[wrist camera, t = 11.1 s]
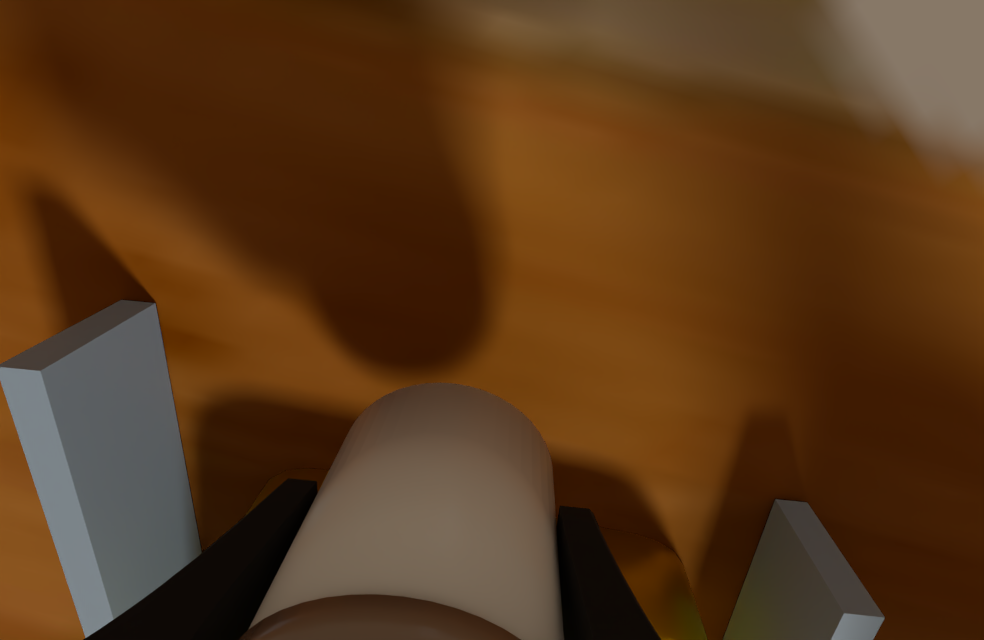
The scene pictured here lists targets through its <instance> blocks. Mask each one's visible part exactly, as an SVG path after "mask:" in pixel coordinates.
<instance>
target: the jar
mask: <svg viewBox="0 0 984 640" xmlns="http://www.w3.org/2000/svg"><path fill="white" fill-rule="evenodd" d="M238 640H564V632H563V617H562V602H561V587H560V572H559V557H558V542H557V527H556V512H555V497H554V482H553V467H552V461H551V457H550V453H549V451H548V448H547V445H546V443H545V441H544V439H543V438H542V436H541V434H540V432H539V431H538V430H537V428H536V427H535V426H534V425H533V423H532V422H531V421H530V420H529V419H528V418H527V417H526V416H525V415H524V414H523V413H522V412H521V411H519V410H518V409H517V408H515V407H514V406H513V405H511V404H510V403H508V402H506V401H505V400H503V399H501V398H499V397H498V396H495V395H493V394H491V393H488V392H486V391H484V390H480V389H477V388H474V387H470V386H465V385H460V384H452V383H425V384H419V385H413V386H409V387H406V388H402V389H399V390H396V391H394V392H392V393H389V394H387V395H385V396H383V397H382V398H380V399H378V400H377V401H375V402H374V403H373V404H371V405H370V406H369V407H368V408H367V409H365V410H364V411H363V412H362V414H361V415H360V416H359V417H358V418H357V419H356V421H355V422H354V424H353V425H352V427H351V429H350V430H349V432H348V434H347V436H346V438H345V440H344V442H343V444H342V446H341V448H340V450H339V452H338V454H337V456H336V458H335V460H334V462H333V464H332V466H331V468H330V470H329V472H328V474H327V476H326V478H325V480H324V482H323V484H322V485H321V487H320V489H319V491H318V493H317V495H316V497H315V499H314V501H313V503H312V505H311V507H310V509H309V511H308V513H307V515H306V517H305V519H304V521H303V523H302V525H301V527H300V529H299V531H298V533H297V535H296V537H295V539H294V541H293V542H292V544H291V546H290V548H289V550H288V552H287V554H286V556H285V558H284V560H283V562H282V564H281V566H280V568H279V570H278V572H277V574H276V576H275V578H274V580H273V582H272V584H271V586H270V588H269V590H268V592H267V594H266V596H265V598H264V599H263V601H262V603H261V605H260V607H259V609H258V611H257V613H256V615H255V617H254V619H253V621H252V623H251V625H250V627H249V629H248V630H247V631H246V632H245V633H244V634H243V635H242V636H241V637H240V638H239V639H238Z"/></svg>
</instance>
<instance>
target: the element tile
mask: <svg viewBox="0 0 984 640" xmlns="http://www.w3.org/2000/svg"><path fill="white" fill-rule="evenodd" d="M328 472H329V470H325V469H312V468H303V469H295V470H287V471H284V472H282V473H280V474H278V475H276V476H275V477H273V478H271V479H269V480H268V482H267V483H266V485H265V486H264V488H263V489H262V491H261V492H260V494H259V495H258V497H257V498H256V500H255V501H254V503H253V504H252V506H251V507H250V509H249V510H248V512H247V513H246V515H247V514H248V513H249V512H250V511H251V510H253V509H254V508H255V507H256V506H257V505H258V504H259V503H260V502H262V501H263V500H264V499H265V498H266V497H267V496H268V495H269V494H270V493H272V492H273V491H274V490H275V489H276V488H277V487H278V486H280V485H281V484H282V483H283V482H284V481H285V480H287V479H288V478H292V479H301V480H311V481H317V490H318V491H319V489H320V487H321V485H322V484H323V482H324V480H325V478H326V476H327V474H328ZM246 515H245V516H246ZM557 520H558V518H556V526H557ZM599 528H600V530H601V532H602V534H603V537H604V539H605V541H606V543H607V545H608V547H609V549H610V551H611V553H612V555H613V557H614V559H615V561H616V563H617V565H618V567H619V569H620V570H621V572H622V574H623V576H624V578H625V580H626V581H627V583H628V585H629V587H630V589H631V590H632V592H633V594H634V596H635V597H636V599H637V601H638V603H639V604H640V606H641V608H642V609H643V611H644V613H645V614H646V616H647V618H648V619H649V621H650V623H651V624H652V626H653V627H654V629H655V631H656V632H657V634H658V635H659V637H660V638H661V640H708V639H707V636H706V633H705V630H704V627H703V624H702V620H701V617H700V614H699V611H698V608H697V605H696V602H695V599H694V596H693V593H692V590H691V587H690V584H689V581H688V577H687V574H686V571H685V568H684V566H683V564H682V563H681V561H680V560H679V558H678V557H677V555H676V554H675V552H674V551H673V550H671V549H669V548H668V547H666V546H664V545H663V544H661V543H660V542H658V541H656V540H653V539H650V538H647V537H644V536H641V535H637V534H633V533H628V532H623V531H618V530H613V529H609V528H604V527H599Z"/></svg>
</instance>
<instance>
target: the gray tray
mask: <svg viewBox="0 0 984 640" xmlns="http://www.w3.org/2000/svg"><path fill="white" fill-rule="evenodd" d="M0 381H1V384H2V387H3V390H4V393H5V396H6V399H7V402H8V405H9V408H10V411H11V414H12V417H13V420H14V423H15V426H16V429H17V432H18V435H19V438H20V441H21V444H22V447H23V450H24V453H25V456H26V459H27V462H28V465H29V468H30V471H31V474H32V477H33V480H34V483H35V486H36V489H37V492H38V495H39V498H40V501H41V504H42V508H43V511H44V514H45V517H46V520H47V523H48V526H49V529H50V532H51V535H52V538H53V541H54V544H55V547H56V550H57V553H58V556H59V559H60V562H61V565H62V568H63V571H64V574H65V577H66V580H67V583H68V586H69V589H70V592H71V595H72V598H73V601H74V604H75V607H76V610H77V613H78V616H79V619H80V622H81V625H82V628H83V631H84V634H85V637H86V638H87V637H88V636H90V635H91V634H93V633H94V632H96V631H97V630H99V629H100V628H102V627H103V626H105V625H106V624H108V623H109V622H111V621H112V620H114V619H115V618H116V617H118V616H119V615H121V614H122V613H124V612H125V611H127V610H128V609H129V608H131V607H132V606H134V605H135V604H136V603H138V602H139V601H141V600H142V599H143V598H145V597H146V596H147V595H149V594H150V593H151V592H153V591H154V590H155V589H157V588H158V587H159V586H161V585H162V584H163V583H165V582H166V581H167V580H168V579H170V578H171V577H172V576H173V575H175V574H176V573H177V572H179V571H180V570H181V569H182V568H184V567H185V566H186V565H188V564H189V563H190V562H191V561H193V560H194V559H195V558H196V557H198V556H199V555H200V554H201V553H202V551H201V546H200V540H199V535H198V529H197V524H196V519H195V513H194V508H193V503H192V497H191V492H190V486H189V481H188V476H187V470H186V465H185V459H184V454H183V449H182V443H181V438H180V433H179V427H178V422H177V416H176V411H175V406H174V400H173V395H172V389H171V384H170V379H169V373H168V368H167V362H166V357H165V352H164V346H163V341H162V336H161V330H160V325H159V319H158V314H157V309H156V303H149V302H138V301H128V300H120V301H118V302H116V303H114V304H112V305H111V306H109V307H107V308H105V309H103V310H101V311H99V312H97V313H96V314H94V315H92V316H90V317H88V318H86V319H84V320H82V321H80V322H79V323H77V324H75V325H73V326H71V327H69V328H67V329H65V330H64V331H62V332H60V333H58V334H56V335H54V336H52V337H50V338H48V339H47V340H45V341H43V342H41V343H39V344H37V345H35V346H33V347H32V348H30V349H28V350H26V351H24V352H22V353H20V354H18V355H16V356H15V357H13V358H11V359H9V360H7V361H5V362H3V363H1V364H0ZM884 619H885V617H884V615H883V614H882V612H881V611H880V609H879V608H878V606H877V605H876V604H875V602H874V601H873V599H872V598H871V596H870V595H869V593H868V592H867V590H866V589H865V587H864V586H863V584H862V583H861V581H860V580H859V578H858V577H857V575H856V574H855V572H854V571H853V569H852V568H851V566H850V565H849V563H848V562H847V560H846V559H845V558H844V556H843V555H842V553H841V552H840V550H839V549H838V547H837V546H836V544H835V543H834V541H833V540H832V538H831V537H830V535H829V534H828V532H827V531H826V529H825V528H824V526H823V525H822V523H821V522H820V520H819V519H818V517H817V516H816V515H815V513H814V512H813V510H812V509H811V507H810V506H809V504H808V503H807V502H799V501H789V500H779V499H775V501H774V504H773V507H772V509H771V512H770V515H769V517H768V520H767V523H766V525H765V528H764V531H763V533H762V536H761V539H760V541H759V544H758V547H757V549H756V552H755V555H754V557H753V560H752V563H751V565H750V568H749V571H748V573H747V576H746V579H745V581H744V584H743V587H742V589H741V592H740V595H739V597H738V600H737V603H736V605H735V608H734V611H733V613H732V616H731V619H730V621H729V624H728V627H727V629H726V632H725V635H724V637H723V640H873V639H874V637H875V635H876V633H877V632H878V630H879V628H880V626H881V624H882V622H883V620H884Z"/></svg>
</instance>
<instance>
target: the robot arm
mask: <svg viewBox="0 0 984 640" xmlns="http://www.w3.org/2000/svg"><path fill="white" fill-rule="evenodd" d="M317 493H318V490H317V481H311V480H301V479H292V478H288V479H287V480H285V481H284V482H283V483H282V484H281V485H280V486H278V487H277V488H276V489H275V490H274V491H273V492H272V493H270V494H269V495H268V496H267V497H266V498H265V499H264V500H263V501H262V502H260V503H259V504H258V505H257V506H256V507H255V508H254V509H253V510H251V511H250V512H249V513H248V514H247V515H246V516H245V517H244V518H242V519H241V520H240V521H239V522H238V523H237V524H236V525H234V526H233V527H232V528H231V529H230V530H229V531H227V532H226V533H225V534H224V535H223V536H221V537H220V538H219V539H218V540H217V541H216V542H214V543H213V544H212V545H211V546H210V547H209V548H207V549H206V550H205V551H204V552H203V553H201V554H200V555H199V556H198V557H196V558H195V559H194V560H193V561H191V562H190V563H189V564H188V565H186V566H185V567H184V568H182V569H181V570H180V571H179V572H177V573H176V574H175V575H173V576H172V577H171V578H170V579H168V580H167V581H166V582H165V583H163V584H162V585H161V586H159V587H158V588H157V589H155V590H154V591H153V592H151V593H150V594H149V595H147V596H146V597H145V598H143V599H142V600H141V601H139V602H138V603H136V604H135V605H134V606H132V607H131V608H129V609H128V610H127V611H125V612H124V613H122V614H121V615H119V616H118V617H116V618H115V619H114V620H112V621H111V622H109V623H108V624H106V625H105V626H103V627H102V628H100V629H99V630H97V631H96V632H94V633H93V634H91V635H90V636H88V637H87V638H85V639H83V640H238V639H239V638H240V637H241V636H242V635H243V634H244V633H245V632H246V631H247V630H248V629H249V627H250V625H251V623H252V621H253V619H254V617H255V615H256V613H257V611H258V609H259V607H260V605H261V603H262V601H263V599H264V598H265V596H266V594H267V592H268V590H269V588H270V586H271V584H272V582H273V580H274V578H275V576H276V574H277V572H278V570H279V568H280V566H281V564H282V562H283V560H284V558H285V556H286V554H287V552H288V550H289V548H290V546H291V544H292V542H293V541H294V539H295V537H296V535H297V533H298V531H299V529H300V527H301V525H302V523H303V521H304V519H305V517H306V515H307V513H308V511H309V509H310V507H311V505H312V503H313V501H314V499H315V497H316V495H317ZM556 527H557V542H558V557H559V572H560V587H561V602H562V617H563V632H564V640H661V638H660V637H659V635H658V634H657V632H656V631H655V629H654V627H653V626H652V624H651V623H650V621H649V619H648V618H647V616H646V614H645V613H644V611H643V609H642V608H641V606H640V604H639V603H638V601H637V599H636V597H635V596H634V594H633V592H632V590H631V589H630V587H629V585H628V583H627V581H626V580H625V578H624V576H623V574H622V572H621V570H620V569H619V567H618V565H617V563H616V561H615V559H614V557H613V555H612V553H611V551H610V549H609V547H608V545H607V543H606V541H605V539H604V537H603V534H602V532H601V530H600V528H599V526H598V523H597V521H596V519H595V516H594V514H593V513H592V512H591V510H590V509H586V508H576V507H566V506H560V508H559V514H558V520H557V526H556Z"/></svg>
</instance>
